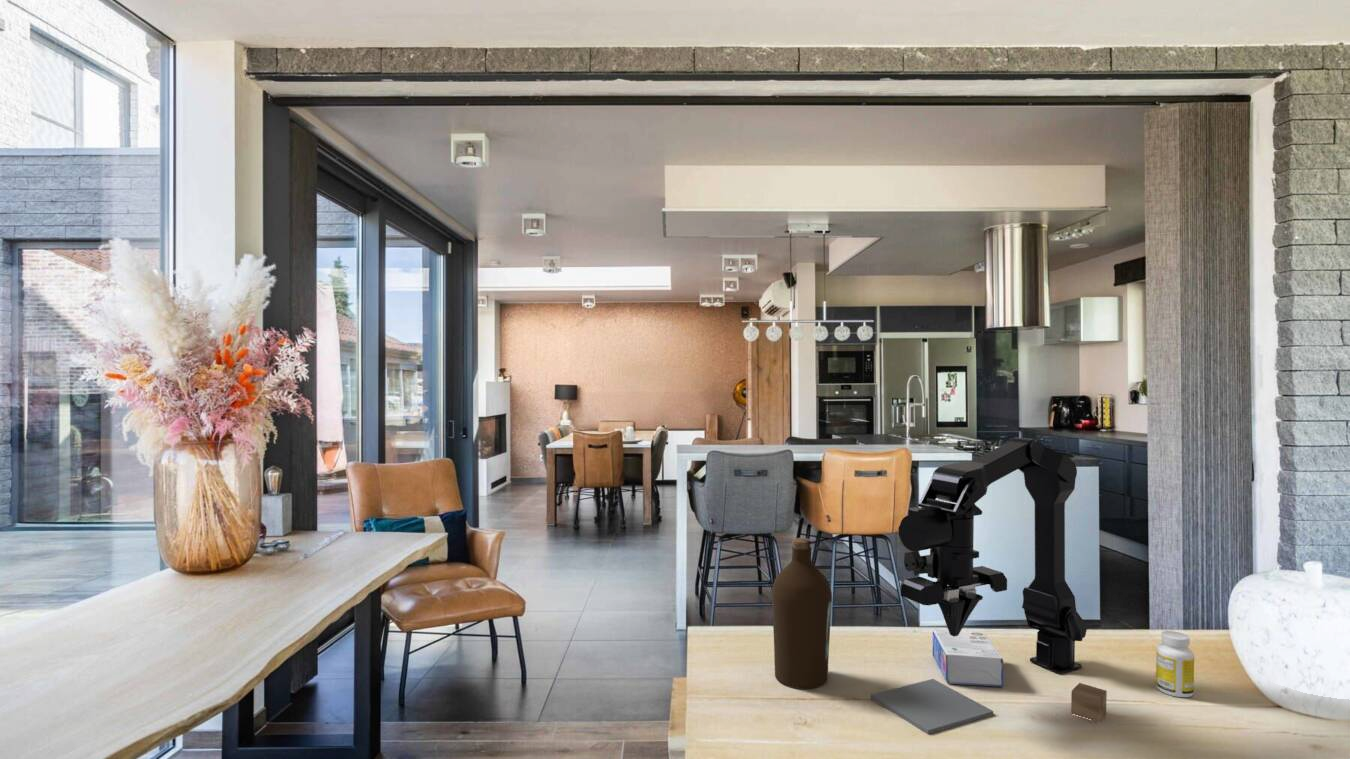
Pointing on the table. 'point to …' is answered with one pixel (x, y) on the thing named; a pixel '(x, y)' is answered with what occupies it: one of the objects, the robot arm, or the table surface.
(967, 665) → the ink cartridge box
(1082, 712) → the walnut block
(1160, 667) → the supplement bottle
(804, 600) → the olive oil
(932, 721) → the mat
